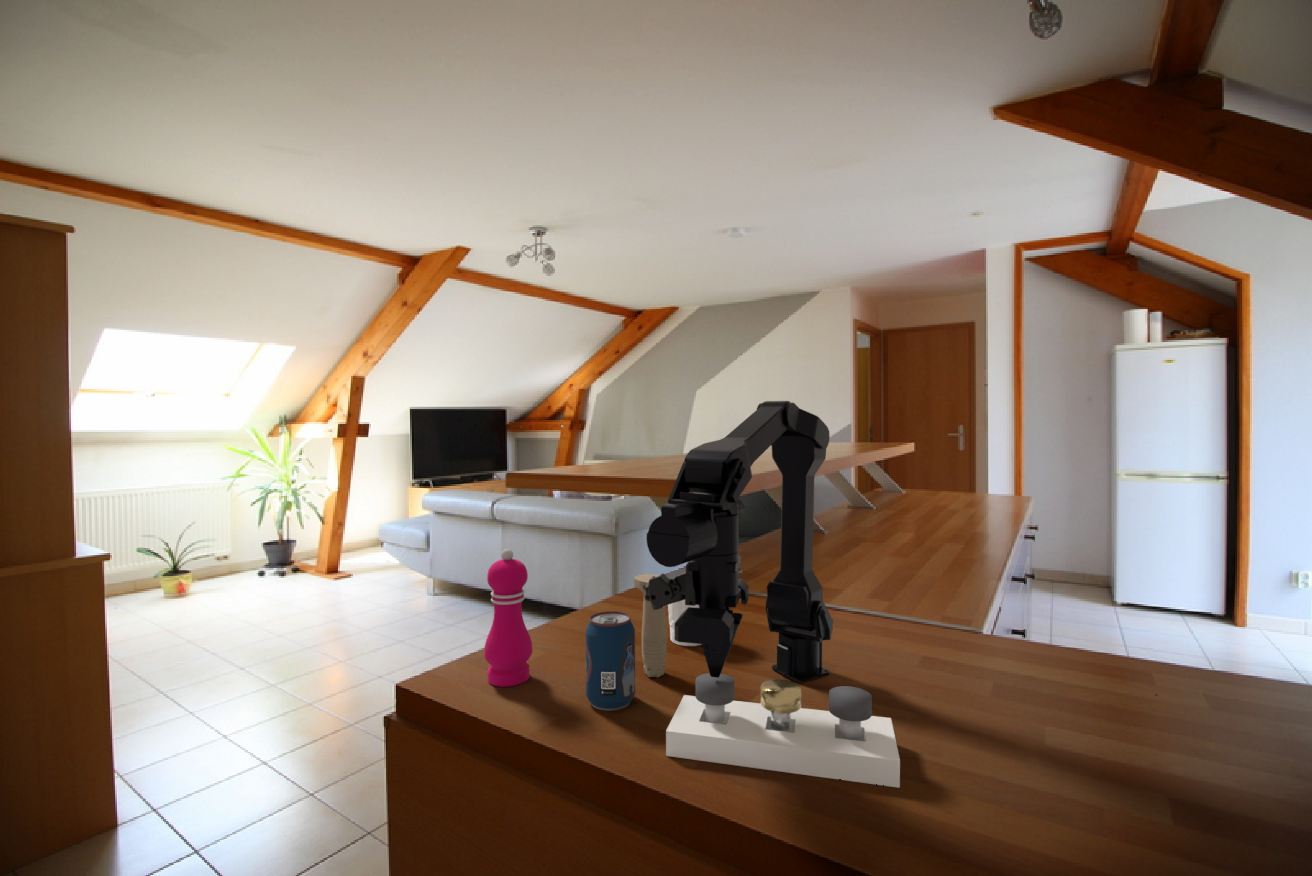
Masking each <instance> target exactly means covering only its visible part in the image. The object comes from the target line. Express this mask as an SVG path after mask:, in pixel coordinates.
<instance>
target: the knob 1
mask: <svg viewBox="0 0 1312 876" xmlns="http://www.w3.org/2000/svg"><path fill="white" fill-rule="evenodd" d="M735 683H736V682H735V680H734V678H733V677H732V676H730V675H728V674H724V673H721V674H720V676H719V677H718V678H717V677H711V676H710V673H709V672H708V673H707V672H706V673H703V674H700V675H698V676H697V677H696V678H695V696H696V699H697V700H698V701H699V702H701V703H704V704H705V719H706V720H707V721H709V722H712V723H719V722H722V721H724V720H725V705H726V704H729V703H731V702H732V701H735V694H736V693H735V690H736V689H735V688H736V687H735Z"/></svg>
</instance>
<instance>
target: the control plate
mask: <svg viewBox="0 0 1312 876" xmlns="http://www.w3.org/2000/svg"><path fill="white" fill-rule="evenodd" d="M894 730H895V729H894V725H893V721H892V718H891V717H885V716H875V715H872V716H871V718H869V719H868V720H865V721H861V737H860V738H858V739H847V738H844V737H842V736H841V735H840V734H839V718H837V717H835V716H834V715H832V714H831V713H830V711H829V710H821V709H814V708H813V709H812V708H803V707H801V708H800V709H799V710H798V711H796V712H792V713H791V728H790V729H789V730H787V731H778V730H775V729H773V728H772V727H771V711H769V710H767V709H765V708H764V707H762V705H761V702H759V703H758V702H750V701H740V700H733V701H732V702H731V703H729V704H726V705H725V720H724V721H722V722H719V723H712V722H709V721H707V720H706V719H705V704H704V703H701V702H699V701H698V700H697V699H696V695H687V694H683V696H682V699H681V701H680V703H679V704H678V706H677V708H676V711H675V712H674V715H672V719H671V720H670V722H669V724H668V726H667V728H666V730H665V756H666V757H673V758H680V759H686V760H687V759H688V760H693V761H701V762H708V763H716V764H724V765H731V766H736V767H737V766H739V767H745V768H752V769H760V770H766V771H767V770H768V771H774V772H781V773H782V772H783V773H787V774H788V773H789V774H796V775H804V776H805V775H806V776H811V777H816V778H817V777H819V778H825V779H833V780H839V779H841V780H842V781H847V782H855V783H862V784H870V785H876V784H877V786H883V785H884V787H892V788H898V789H900V787H901V779H900V778H901V759H900V758H901V757H900V754H899V749H898V745H897V741H896V740H897V739H896V736H895V732H894ZM841 780H840V781H841Z"/></svg>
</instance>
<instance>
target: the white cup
mask: <svg viewBox="0 0 1312 876" xmlns="http://www.w3.org/2000/svg"><path fill="white" fill-rule="evenodd" d="M688 607H692V608H699V605H695V606H691V605H685V599H684V600H682V601H679V602H675V603H672V604H669V605H667V611H668V624H669V638H670V639H669V640H670V641H671V642H672V643H673V644H675V645H678V646H683V647H697V646H702V644H696V643H685V642H678V641H676V640H675V622H676V621H677V619H678V618H679V617H680V615H681V614H682V613H683V612H684V611H685V610H686V609H687V608H688Z"/></svg>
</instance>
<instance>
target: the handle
mask: <svg viewBox="0 0 1312 876" xmlns="http://www.w3.org/2000/svg"><path fill="white" fill-rule="evenodd" d="M660 575H661V574H654V573H653V574H651V573H643V574H639V575H636V576H634V577H633V586H634V588H636V589H638V590H639V591H641V592H642V599H643V602H642V603H643V604H642V624H641V655H642V657H641V658H642V662H643V673H644V674H645V675H646V676H647V677H648V678H660V677H661V676H664V675H665V673H666V665H665V664H666V660H667V651H668V633H667V632H668V631H667V618H666V605H665V606H663V607H662V608H661V609H657V610H653V607H652V604H651V602H650V601H647V600H646V599H645V595H646V591H645V585H646V584H647V583H648V582H649V580H650V579H651V578H652V577H653V576H655V577H657V576H660Z"/></svg>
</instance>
